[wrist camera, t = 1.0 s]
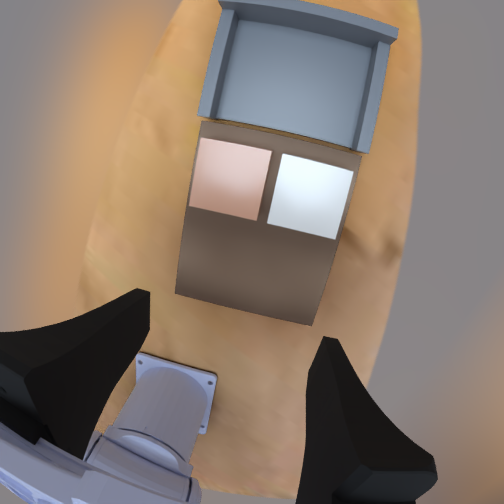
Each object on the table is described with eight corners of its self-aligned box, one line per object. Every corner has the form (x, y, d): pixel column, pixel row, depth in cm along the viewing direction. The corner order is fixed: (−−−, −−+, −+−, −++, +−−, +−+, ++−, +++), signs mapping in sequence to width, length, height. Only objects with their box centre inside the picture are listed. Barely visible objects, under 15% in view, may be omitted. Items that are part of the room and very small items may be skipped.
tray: (360, 152, 21) (374, 154, 17) (206, 118, 21) (190, 113, 18) (381, 44, 18) (398, 28, 14) (231, 12, 18) (220, -10, 15)
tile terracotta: (259, 213, 20) (256, 220, 18) (198, 199, 20) (188, 205, 18) (273, 150, 19) (271, 151, 17) (209, 137, 19) (200, 137, 17)
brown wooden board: (309, 306, 25) (311, 326, 22) (186, 276, 26) (174, 293, 23) (352, 154, 21) (361, 156, 18) (212, 123, 21) (201, 120, 19)
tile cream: (331, 230, 20) (335, 239, 18) (268, 215, 20) (266, 223, 18) (347, 168, 19) (353, 171, 17) (283, 152, 19) (282, 153, 17)
